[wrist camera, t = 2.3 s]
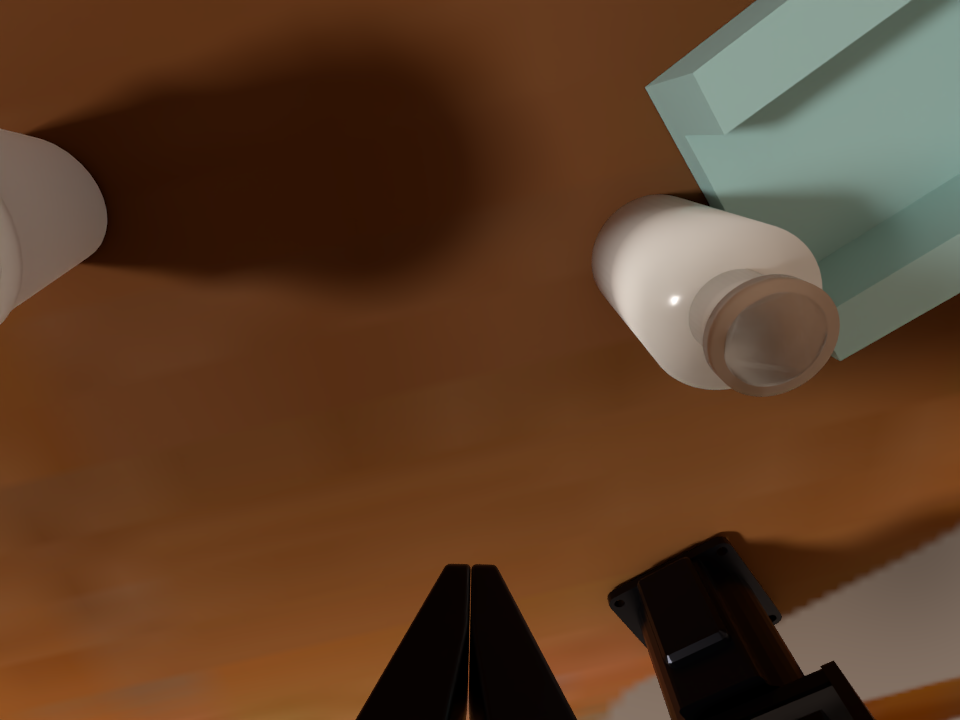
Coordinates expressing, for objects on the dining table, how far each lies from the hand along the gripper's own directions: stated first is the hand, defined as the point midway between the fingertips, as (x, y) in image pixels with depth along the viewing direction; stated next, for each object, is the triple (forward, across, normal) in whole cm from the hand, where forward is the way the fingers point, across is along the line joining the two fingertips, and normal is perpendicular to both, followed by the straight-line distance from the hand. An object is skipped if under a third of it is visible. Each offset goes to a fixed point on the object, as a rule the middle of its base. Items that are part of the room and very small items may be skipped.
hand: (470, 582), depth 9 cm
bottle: (+12, -6, -3) cm, 14 cm away
